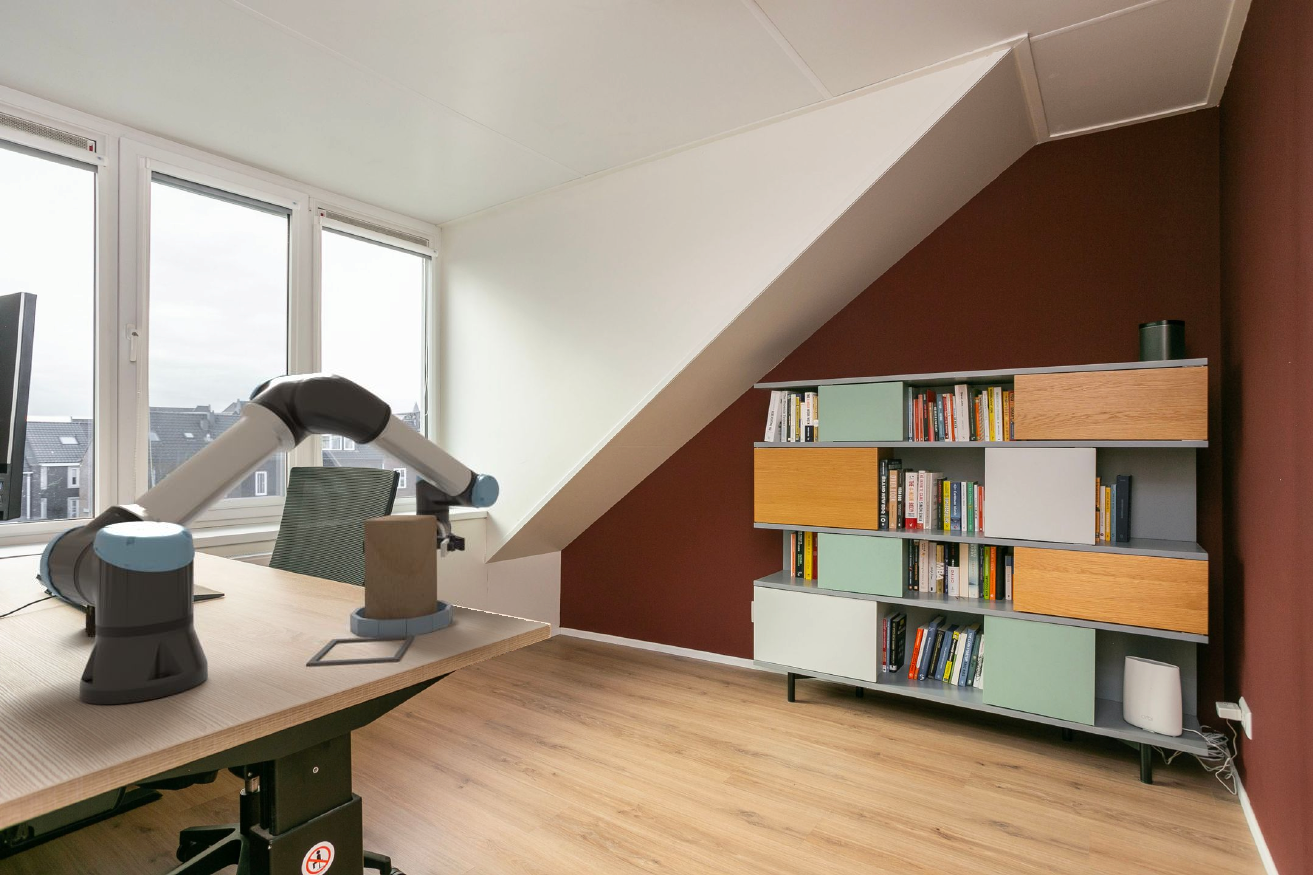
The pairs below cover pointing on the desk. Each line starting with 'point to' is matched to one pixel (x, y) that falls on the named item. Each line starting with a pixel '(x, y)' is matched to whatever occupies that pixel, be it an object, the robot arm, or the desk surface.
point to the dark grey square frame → (397, 657)
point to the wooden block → (400, 566)
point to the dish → (401, 623)
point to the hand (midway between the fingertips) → (406, 551)
